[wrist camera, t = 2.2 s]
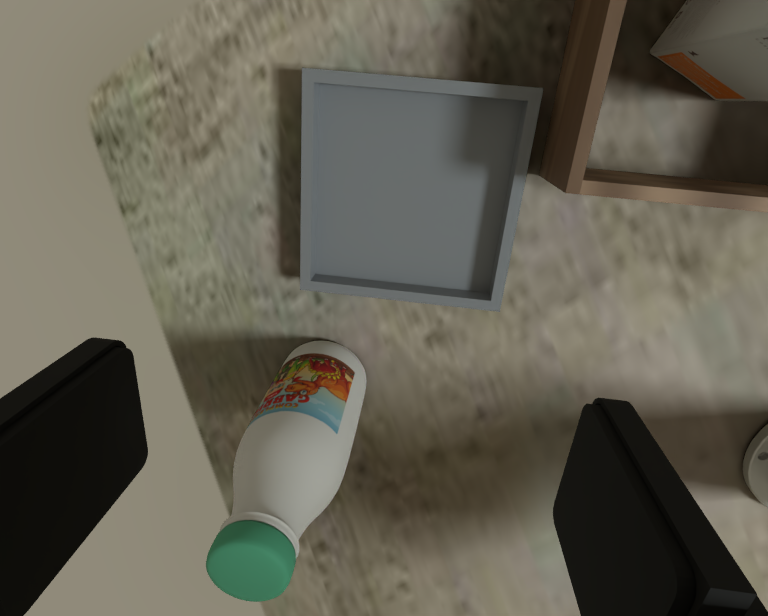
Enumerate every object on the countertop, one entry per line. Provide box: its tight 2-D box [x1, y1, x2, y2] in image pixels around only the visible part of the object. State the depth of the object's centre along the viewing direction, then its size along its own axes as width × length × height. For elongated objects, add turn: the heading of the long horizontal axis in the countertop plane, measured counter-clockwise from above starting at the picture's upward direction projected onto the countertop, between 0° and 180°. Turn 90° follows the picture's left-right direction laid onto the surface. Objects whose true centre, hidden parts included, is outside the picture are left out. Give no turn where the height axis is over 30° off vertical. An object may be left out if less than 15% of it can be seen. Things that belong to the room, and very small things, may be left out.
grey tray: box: [300, 68, 544, 312], centre depth 35 cm, size 16×16×2 cm
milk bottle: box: [206, 341, 367, 602], centre depth 34 cm, size 8×8×20 cm
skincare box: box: [650, 0, 768, 101], centre depth 25 cm, size 6×4×12 cm
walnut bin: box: [539, 0, 768, 212], centre depth 27 cm, size 18×18×8 cm
